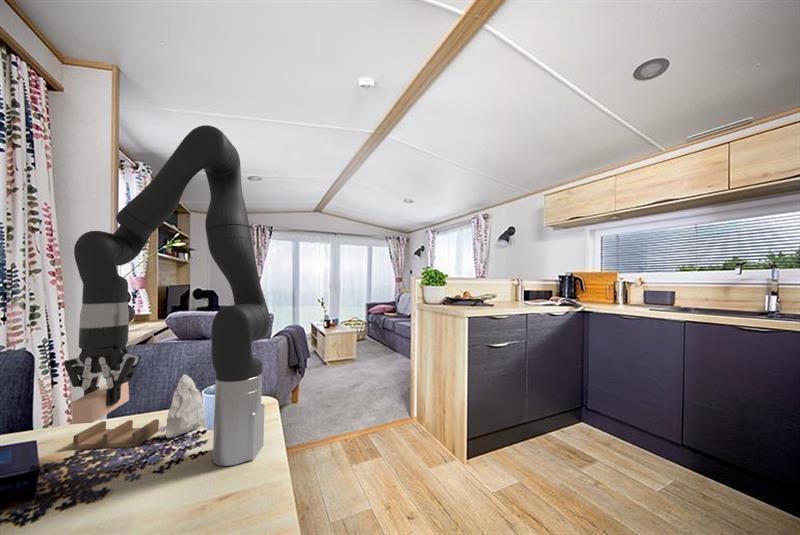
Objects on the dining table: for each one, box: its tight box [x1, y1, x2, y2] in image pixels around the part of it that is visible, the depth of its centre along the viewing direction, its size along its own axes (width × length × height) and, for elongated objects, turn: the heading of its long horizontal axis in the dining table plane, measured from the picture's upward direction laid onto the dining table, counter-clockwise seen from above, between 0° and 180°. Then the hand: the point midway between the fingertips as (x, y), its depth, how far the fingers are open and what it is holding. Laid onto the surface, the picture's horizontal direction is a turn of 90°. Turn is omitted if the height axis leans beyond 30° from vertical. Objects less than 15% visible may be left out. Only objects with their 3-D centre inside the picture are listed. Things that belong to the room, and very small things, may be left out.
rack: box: [72, 419, 160, 450], centre depth 71 cm, size 14×7×3 cm, turn 95°
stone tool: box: [165, 373, 205, 439], centre depth 74 cm, size 8×3×15 cm, turn 151°
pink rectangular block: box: [71, 381, 130, 425], centre depth 62 cm, size 3×9×4 cm, turn 6°
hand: (101, 404), depth 62 cm, fingers closed on pink rectangular block, 3 cm apart
